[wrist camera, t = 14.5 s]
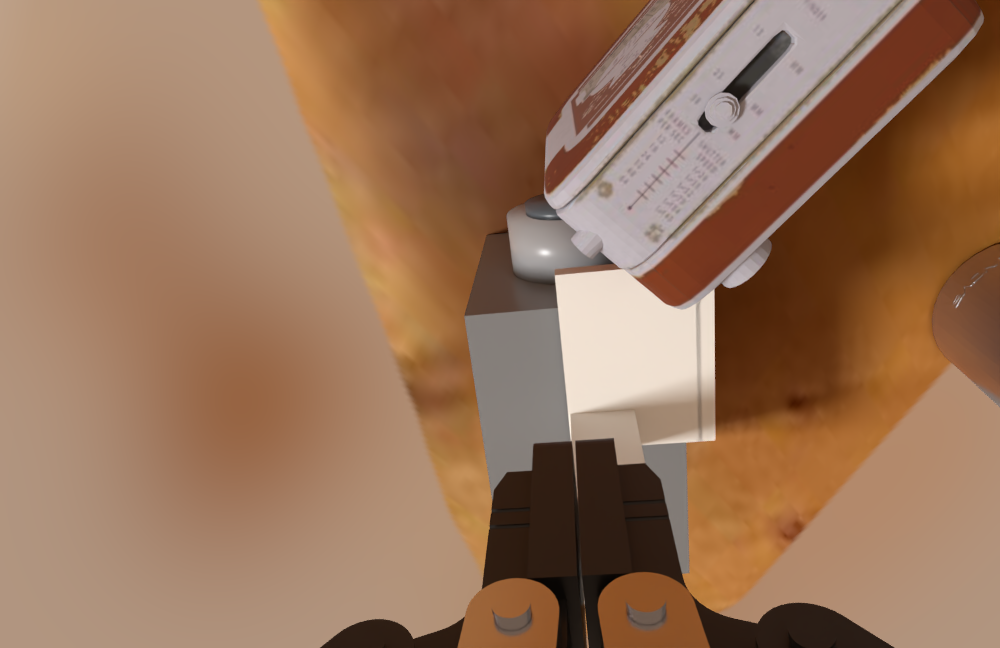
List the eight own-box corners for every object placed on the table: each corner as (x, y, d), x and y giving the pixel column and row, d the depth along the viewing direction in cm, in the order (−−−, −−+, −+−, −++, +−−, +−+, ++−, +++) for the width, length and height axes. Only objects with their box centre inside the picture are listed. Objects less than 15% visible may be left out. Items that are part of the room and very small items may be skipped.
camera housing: (479, 179, 45) (453, 244, 33) (646, 161, 44) (681, 221, 32) (515, 450, 53) (504, 582, 41) (658, 440, 51) (689, 572, 40)
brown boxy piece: (903, -63, 38) (1222, -121, 20) (641, 213, 45) (702, 359, 27) (781, -196, 36) (1012, -393, 18) (526, 114, 43) (508, 197, 25)
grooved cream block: (554, 200, 44) (555, 384, 23) (669, 188, 43) (780, 367, 22) (566, 337, 48) (578, 604, 27) (673, 328, 47) (772, 596, 26)
